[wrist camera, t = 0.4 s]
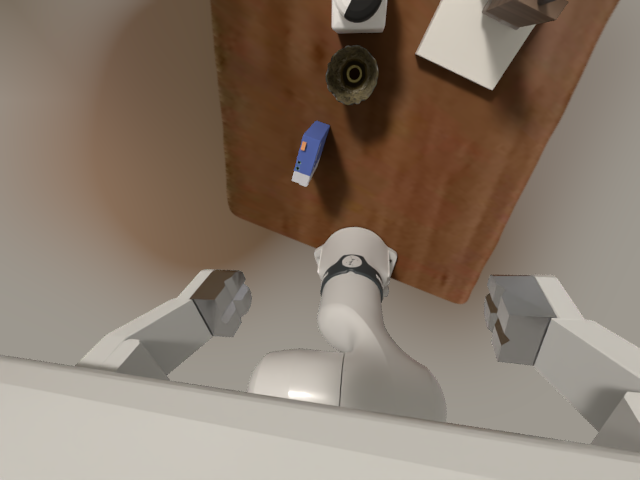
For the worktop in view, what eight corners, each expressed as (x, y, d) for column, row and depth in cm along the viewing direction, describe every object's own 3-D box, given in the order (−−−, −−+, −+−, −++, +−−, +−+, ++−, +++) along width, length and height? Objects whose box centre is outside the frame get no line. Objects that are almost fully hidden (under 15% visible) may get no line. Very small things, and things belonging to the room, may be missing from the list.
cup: (386, 76, 47) (389, 79, 40) (351, 108, 50) (348, 116, 44) (358, 35, 45) (355, 31, 38) (323, 71, 48) (315, 74, 41)
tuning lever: (513, 30, 40) (568, 20, 29) (480, 14, 40) (523, -4, 28) (523, 13, 39) (586, -5, 28) (489, -4, 38) (539, -30, 27)
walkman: (315, 120, 52) (302, 135, 42) (330, 125, 53) (320, 141, 42) (304, 160, 57) (290, 182, 47) (317, 165, 57) (306, 188, 47)
